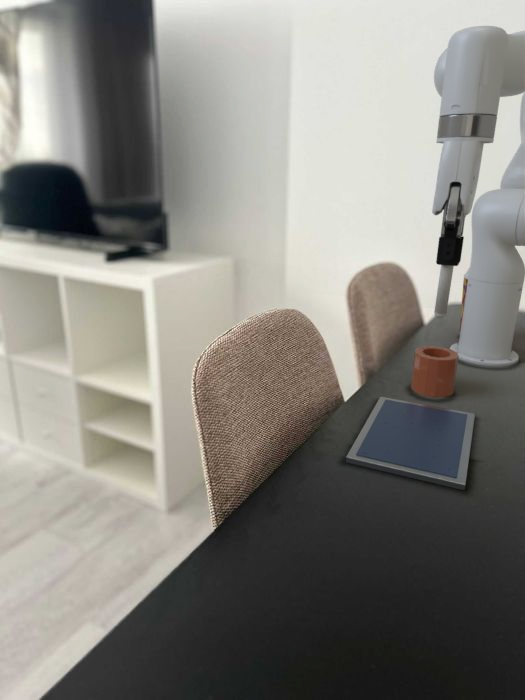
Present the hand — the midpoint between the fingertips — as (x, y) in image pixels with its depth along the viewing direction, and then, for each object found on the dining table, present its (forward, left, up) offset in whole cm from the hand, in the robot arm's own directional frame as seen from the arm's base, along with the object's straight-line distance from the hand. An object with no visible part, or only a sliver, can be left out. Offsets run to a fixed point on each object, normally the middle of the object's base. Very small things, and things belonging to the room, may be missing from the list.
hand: (448, 262), depth 77 cm
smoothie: (-34, +5, -22) cm, 41 cm away
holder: (0, 0, -21) cm, 21 cm away
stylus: (0, 0, -8) cm, 8 cm away
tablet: (+17, 0, -21) cm, 27 cm away
